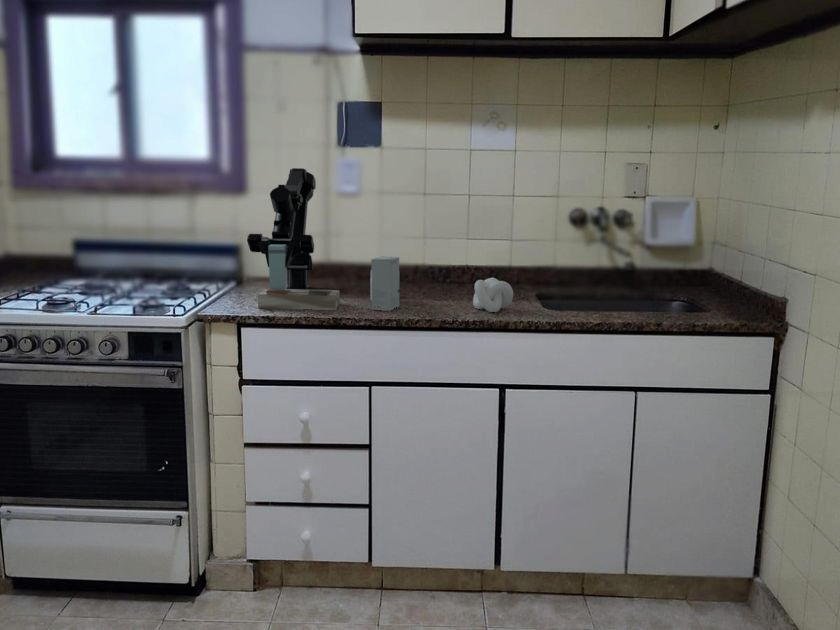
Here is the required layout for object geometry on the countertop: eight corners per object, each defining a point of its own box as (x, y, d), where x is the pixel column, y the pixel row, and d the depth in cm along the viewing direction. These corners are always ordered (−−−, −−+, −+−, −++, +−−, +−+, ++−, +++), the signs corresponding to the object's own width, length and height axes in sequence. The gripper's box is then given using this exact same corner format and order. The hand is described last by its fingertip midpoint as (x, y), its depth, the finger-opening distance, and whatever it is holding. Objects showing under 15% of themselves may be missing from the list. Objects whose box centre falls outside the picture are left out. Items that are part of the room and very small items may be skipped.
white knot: (510, 306, 226) (511, 276, 224) (514, 314, 214) (516, 283, 213) (472, 305, 226) (473, 275, 224) (474, 314, 214) (475, 282, 213)
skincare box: (390, 312, 215) (390, 259, 212) (370, 310, 217) (370, 258, 214) (400, 306, 223) (400, 256, 220) (380, 305, 225) (380, 255, 222)
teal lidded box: (271, 287, 223) (270, 244, 220) (287, 286, 223) (286, 244, 220) (269, 289, 218) (267, 246, 216) (286, 289, 219) (284, 246, 216)
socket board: (265, 301, 227) (265, 284, 226) (339, 303, 226) (339, 286, 225) (258, 308, 217) (257, 290, 216) (335, 310, 216) (335, 292, 215)
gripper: (318, 241, 233) (313, 283, 224) (257, 240, 233) (250, 282, 225) (314, 218, 224) (308, 260, 215) (250, 216, 224) (242, 259, 216)
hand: (277, 266), depth 218 cm, fingers closed on teal lidded box, 5 cm apart
